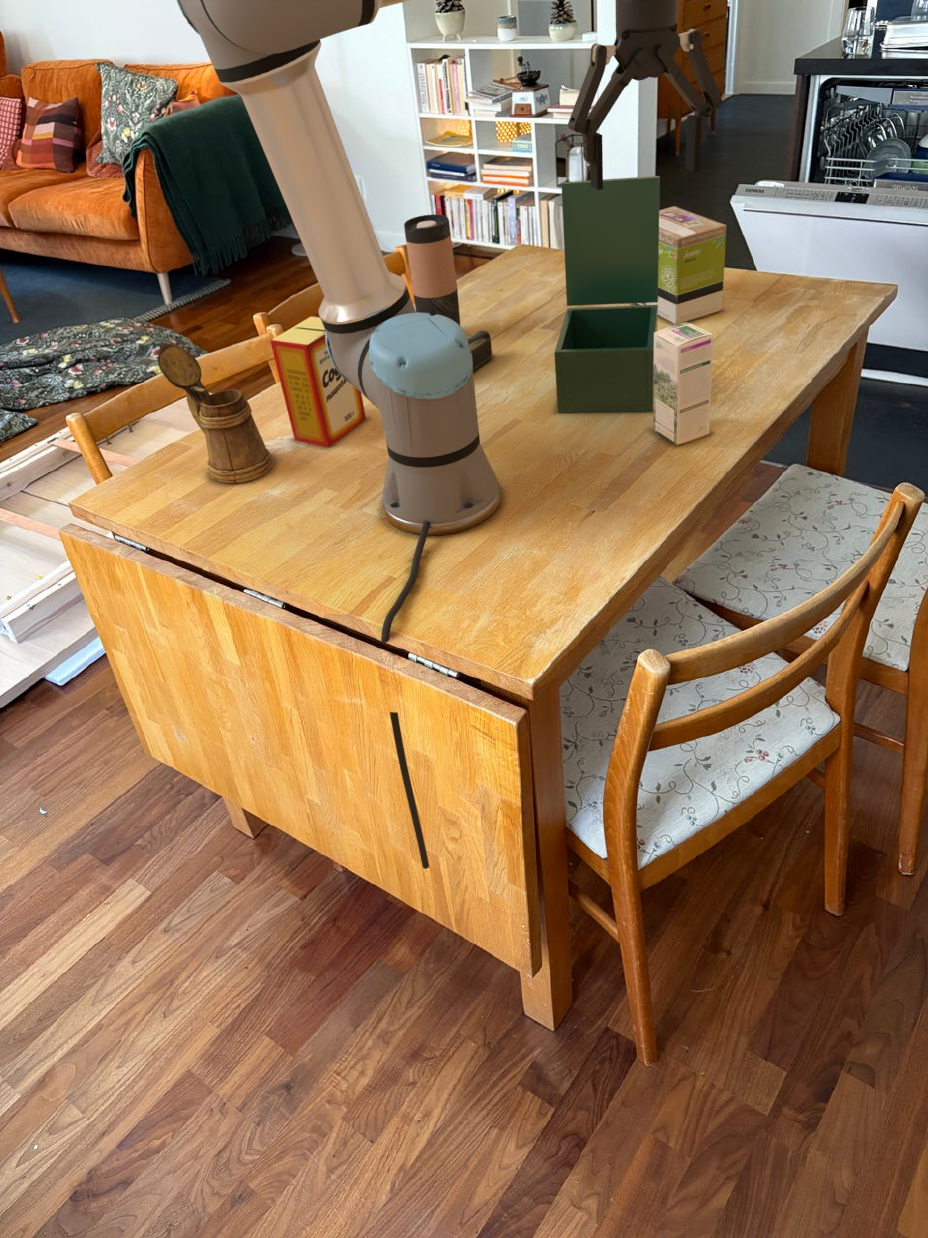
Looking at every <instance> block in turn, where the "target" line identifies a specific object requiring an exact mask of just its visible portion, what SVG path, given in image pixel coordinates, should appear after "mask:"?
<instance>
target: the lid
mask: <svg viewBox="0 0 928 1238" xmlns="http://www.w3.org/2000/svg"><path fill="white" fill-rule="evenodd" d="M660 182H661V176H660V175H656V176H655V175H654V176H653V175H651V176H639V177H637V176H636V177H635V176H633V177H622V178H621V177H619V178H606V179H605V178H603V189H601V190H597V189H595V188H594V187H592V186H591V183H590V180H578V181H577V180H576V181H564V182H561V203H562V206H561V207H562V227H563V249H564V250H563V251H564V271H565V272H564V273H565V288H566V289H565V291H566V292H565V294H566V306H567V307H570V306H571V307H573V306H574V307H575V306H600V305H621V304H622V305H625V304H637V303H654V302H658V263H659V210H660V194H661V193H660V187H661V185H660V184H661V183H660Z"/></svg>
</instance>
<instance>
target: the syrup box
mask: <svg viewBox="0 0 928 1238" xmlns="http://www.w3.org/2000/svg"><path fill="white" fill-rule="evenodd" d="M713 352H714V334H713V333H711V332H709V331H707V330H705V329H703V328H702V327H699V326H697V325H695V324H692V323H690V322H689V321H687V322H683V323H680V324H676V325H675V324H673V325H670V326H667V327H664V328H662V329H660V330H657V332H654V402H653V431H654V432H656V433H657V434H659V435H660V436H662V437H664V438H665V439H667V440H668V441H670V442H671V443H673V444H674V445H676V446H679V445H682V444H685V443H689V442H692V441H694V440H696V439H700V438H702V437H705V436H708V435H710V425H711V423H710V422H711V401H712V400H711V398H712V377H713V376H712V374H713Z"/></svg>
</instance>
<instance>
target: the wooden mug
mask: <svg viewBox="0 0 928 1238" xmlns="http://www.w3.org/2000/svg"><path fill="white" fill-rule="evenodd" d="M157 365H158V368H159V370H160V371H161V373H162V375H163V376H164V377H165V378H166V380H167V381H168V383H170V384H171V385H173V386H174V387H176V388H178V389H182V390H183V391H185V393H186V402H187V406H188V409H189V412H190V413H191V415H192V417H193V419H194V421H195V422H196V424H197V426H198V427H199V428H200V430H201V432H203V434H204V435H205V436H204V437H205V442H206V443H205V444H206V448H207V455H208V460H207V461H206V462H207V467H208V468H207V469H208V473H209V476H210V477H211V478H212V479H213V480H214V481H216V482H219V483H221V484H241V483H245V482H249V481H252V480H256V479H258V478H259V477H262V476H263V475H265V474H266V473H268V472H269V471H270V470H271V469H272V467H273V465H274V460H273V459H274V458H273V456H272V455H271V452H270V451H269V449H268V448H267V447H266V444H265V442H264V440H263V438H262V436H261V433H260V431H259V428H258V426H257V424H256V422H255V419H254V416H253V415H252V411H253V410H252V407H251V405H250V403H249V401H248V399H246V398H245V396H244V394H243V392H242V391H241V390H239V389H236V388H227V389H223V390H219V391H216V392H213V393H211V394H210V393H209V390H208V389H207V388H206V386H204V384H203V383H202V381H201V379H202V368H201V366H200V364H199V362H198V360H197V359H196V358H195V356H194V355H193V354H192V353H191V352H190V351H188V350H187V348H184V347H182V346H180V345H178V344H173V343H164V342H161V344H160V347H159V351H158V354H157Z"/></svg>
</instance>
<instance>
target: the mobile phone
mask: <svg viewBox="0 0 928 1238" xmlns="http://www.w3.org/2000/svg"><path fill="white" fill-rule="evenodd" d="M467 339H468V344H469V348H470V352H471V354H472V361H473V369H472V370H473V372H474V371H475V370H477V369H478V368H480V367H482V366H483V365H485V364H486V363H488V362H490V360H491V359H492V357H493V348H492V347H493V346H492V338H491V334H490V332H488V331H486V330H479V331H477V332H476V333H474V334H473V335H470V336H469V337H468V336H467Z"/></svg>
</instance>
